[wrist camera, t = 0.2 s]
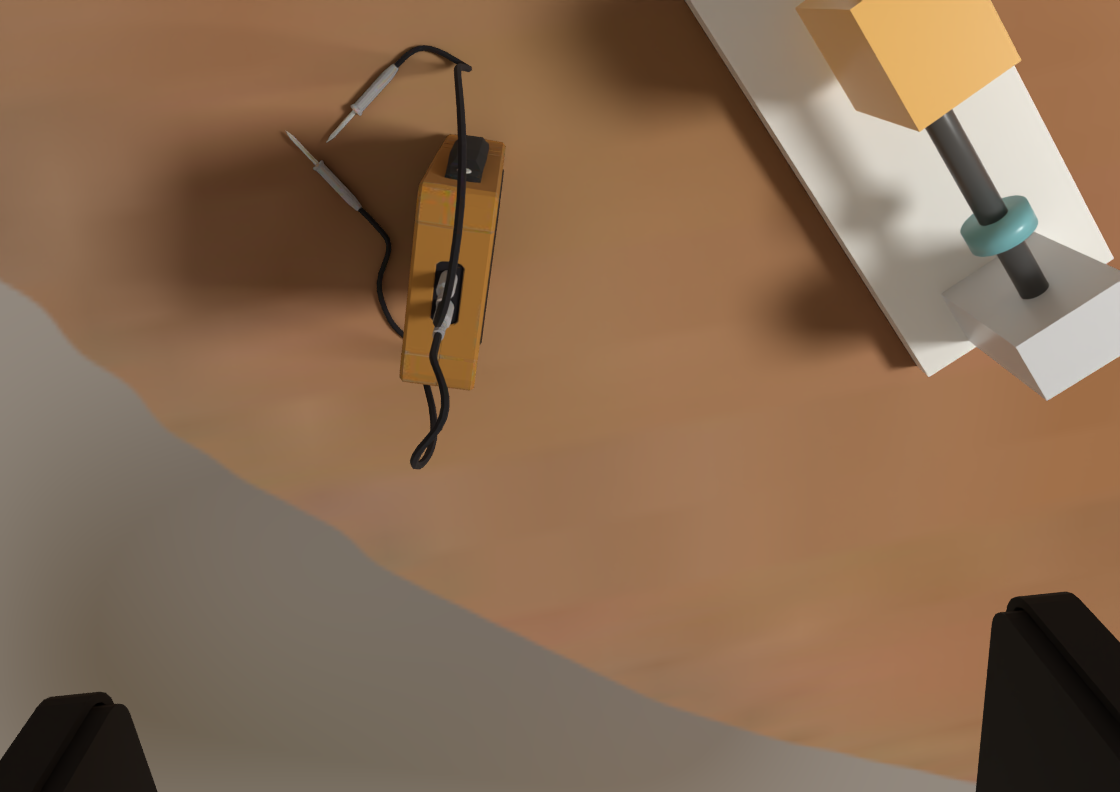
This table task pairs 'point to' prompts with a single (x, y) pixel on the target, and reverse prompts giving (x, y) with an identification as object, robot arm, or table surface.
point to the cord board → (937, 207)
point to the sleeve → (910, 53)
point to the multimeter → (441, 255)
